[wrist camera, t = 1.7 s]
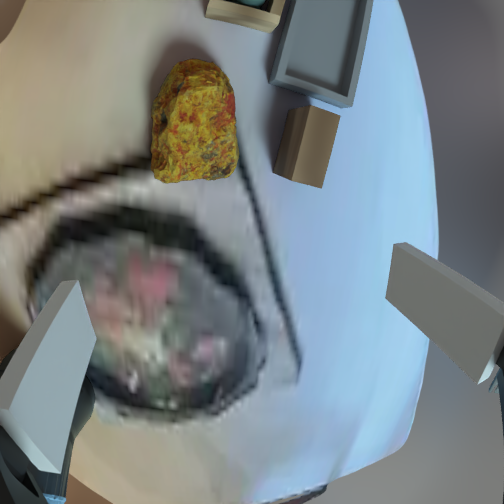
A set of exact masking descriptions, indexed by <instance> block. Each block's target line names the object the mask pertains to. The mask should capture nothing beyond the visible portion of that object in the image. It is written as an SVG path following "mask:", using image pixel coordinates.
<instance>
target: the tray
mask: <svg viewBox="0 0 504 504" xmlns="http://www.w3.org/2000/svg"><path fill="white" fill-rule="evenodd" d="M372 6H373V0H291V3H290V6H289V10H288V14H287V17H286V21H285V24H284V28H283V31H282V35H281V39H280V42H279V46H278V50H277V53H276V57H275V61H274V64H273V68H272V72H271V76H270V79H269V84H272V85H275V86H279V87H282V88H285V89H288V90H291V91H295V92H298V93H301V94H304V95H307V96H309V97H312V98H315V99H318V100H321V101H324V102H326V103H329V104H332V105H334V106H337V107H339V108H347V107H352V106H353V101H354V97H355V92H356V88H357V83H358V79H359V74H360V69H361V65H362V60H363V55H364V50H365V45H366V40H367V34H368V29H369V23H370V18H371V12H372Z"/></svg>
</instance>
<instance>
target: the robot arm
mask: <svg viewBox="0 0 504 504" xmlns="http://www.w3.org/2000/svg"><path fill="white" fill-rule="evenodd" d="M385 298H386V299H387V300H388V301H389V302H390V303H391V304H392V305H393V306H394V307H396V308H397V309H398V310H399V311H400V312H401V313H402V314H403V315H404V316H406V317H407V318H408V319H409V320H410V321H411V322H412V323H413V324H414V325H415V326H416V327H418V328H419V329H420V330H421V331H422V332H423V333H424V334H425V335H426V336H427V337H428V338H429V339H430V340H432V341H433V342H434V343H435V344H436V345H437V346H438V347H439V348H440V349H441V350H442V351H443V352H444V353H445V354H446V355H447V356H448V357H449V358H450V359H451V360H452V361H454V362H455V363H456V364H457V365H458V366H459V367H460V368H461V369H462V370H463V371H464V372H465V373H466V374H467V375H468V376H469V377H470V378H471V379H472V380H473V381H474V382H475V383H476V384H479V383H481V382H482V381H484V380H485V379H487V378H488V377H489V376H490V374H491V372H492V370H493V368H494V366H495V364H497V365H498V366H499V367H500V369H499V371H498V373H497V375H496V376H495V378H494V380H493V382H492V384H491V386H490V388H489V392H492V390H493V388H494V386H495V385H498V386H497V388H496V390H495V393H499V394H500V403H501V411H502V422H503V436H504V303H503V302H502V301H500V300H499V299H497V298H496V297H494V296H493V295H491V294H490V293H488V292H487V291H485V290H483V289H482V288H481V287H479V286H478V285H476V284H475V283H473V282H471V281H470V280H468V279H467V278H465V277H464V276H462V275H460V274H459V273H457V272H456V271H454V270H452V269H451V268H449V267H447V266H446V265H444V264H443V263H441V262H439V261H438V260H436V259H434V258H432V257H431V256H429V255H427V254H426V253H424V252H422V251H421V250H419V249H417V248H415V247H414V246H412V245H410V244H408V243H407V242H405V243H397V244H393V252H392V259H391V266H390V273H389V279H388V285H387V291H386V297H385ZM95 342H96V336H95V333H94V330H93V327H92V324H91V321H90V318H89V315H88V312H87V309H86V305H85V302H84V299H83V295H82V292H81V288H80V285H79V281H78V280H72V281H62V282H61V283H60V284H59V286H58V287H57V289H56V290H55V291H54V293H53V294H52V296H51V297H50V299H49V300H48V302H47V303H46V304H45V306H44V307H43V309H42V310H41V312H40V313H39V315H38V316H37V318H36V319H35V321H34V323H33V324H32V326H31V327H30V329H29V330H28V332H27V334H26V335H25V337H24V338H23V340H22V342H21V343H20V345H19V347H18V348H17V349H15V350H13V351H11V352H10V353H9V354H8V355H7V356H6V357H5V358H4V359H3V361H2V362H1V364H0V504H64V502H66V498H65V496H66V489H67V480H68V474H69V468H70V461H71V455H72V449H73V444H74V440H75V438H76V436H77V435H78V434H79V432H80V431H81V430H82V428H83V427H84V425H85V424H86V423H87V421H88V420H89V419H90V417H91V415H92V412H93V408H94V403H95V393H94V390H93V387H92V385H91V383H90V381H89V380H88V378H87V377H86V376H85V373H86V370H87V366H88V363H89V360H90V357H91V354H92V351H93V348H94V345H95ZM503 504H504V494H503Z"/></svg>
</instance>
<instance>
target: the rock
mask: <svg viewBox="0 0 504 504" xmlns="http://www.w3.org/2000/svg"><path fill="white" fill-rule="evenodd" d="M151 110H152V113H151V118H152V119H153V127H152V137H153V140H152V144H151V152H152V160H151V163H152V164H151V170H152V171H153V173H154V177H155V179H158V180H160V181H162V182H163V183H166V184H168V183H178V182H180V181H187V180H195V179H201V178H203V179H206V180H216V179H220V178H227V177H229V176H230V175H231V174H232V173H233V172H234V169H235V168H236V165H237V161H238V158H239V149H238V144H237V138H236V126H235V124H236V117H235V97H234V92H233V88H232V86H231V85H230V82H229V78H228V77H227V76H226V75H225V74H224V73H223V72H222V71H221V69H220V68H219V67H218V66H216V65H215V64H214V63H213V62H211V63H208V62H206V61H202V60H199V59H189V60H186V61H182V62H178V63H177V64H176V65H175V66H174V67H173V69H172V70H171V72H170V73H169V74H168V75H167V77H166V79H165V81H164V83H163V84H162V86H161V91H160V93H159V94H158V96H157V97H156V98H155V100H154V101H153V105H152V109H151Z"/></svg>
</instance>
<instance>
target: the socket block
mask: <svg viewBox="0 0 504 504" xmlns="http://www.w3.org/2000/svg"><path fill="white" fill-rule="evenodd" d="M284 3H285V0H269V3H268V7H267V10H266V11H262V10H259V9H255V8H251V7H248V6H244V5H240V4H236V3H231V2H227V1H222V0H210V1H209V4H208V6H207V11H206V16H205V18H210V19H215V20H220V21H224V22H229V23H233V24H237V25H241V26H245V27H249V28H253V29H256V30H260V31H263V32H267V33H271V32H272V31H273V30H274V29H275V28H276V27H277V26H278V24H279V21H280V17H281V14H282V10H283V7H284Z"/></svg>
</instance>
